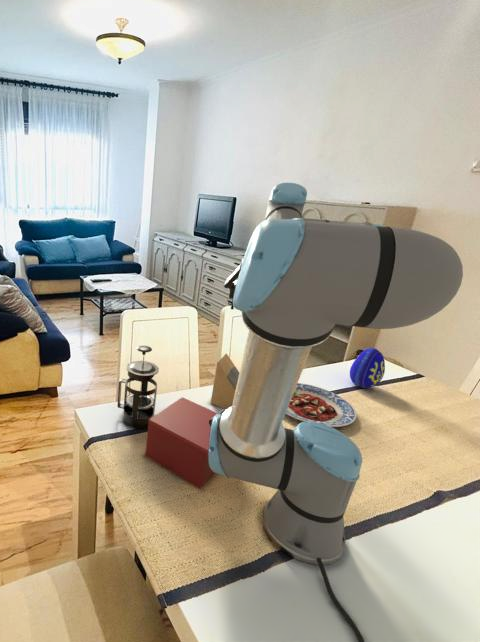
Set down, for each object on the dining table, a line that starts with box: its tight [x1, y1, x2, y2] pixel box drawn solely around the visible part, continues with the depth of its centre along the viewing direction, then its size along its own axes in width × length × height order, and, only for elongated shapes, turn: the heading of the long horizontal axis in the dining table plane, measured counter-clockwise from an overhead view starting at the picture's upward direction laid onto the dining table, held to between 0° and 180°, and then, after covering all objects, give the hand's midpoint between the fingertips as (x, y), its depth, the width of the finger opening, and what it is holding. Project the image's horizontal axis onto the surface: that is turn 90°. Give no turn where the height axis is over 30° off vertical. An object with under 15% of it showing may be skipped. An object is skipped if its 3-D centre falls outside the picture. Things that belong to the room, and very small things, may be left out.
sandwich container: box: [210, 352, 240, 410], centre depth 119 cm, size 9×15×15 cm, turn 58°
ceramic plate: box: [285, 382, 357, 428], centre depth 123 cm, size 26×26×3 cm
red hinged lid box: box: [144, 423, 216, 490], centre depth 96 cm, size 16×15×10 cm
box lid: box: [149, 397, 227, 455], centre depth 93 cm, size 17×15×6 cm
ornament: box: [349, 347, 386, 390], centre depth 137 cm, size 11×9×15 cm
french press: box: [117, 345, 160, 430], centre depth 108 cm, size 12×9×23 cm
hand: (256, 310), depth 110 cm, fingers open, 13 cm apart
